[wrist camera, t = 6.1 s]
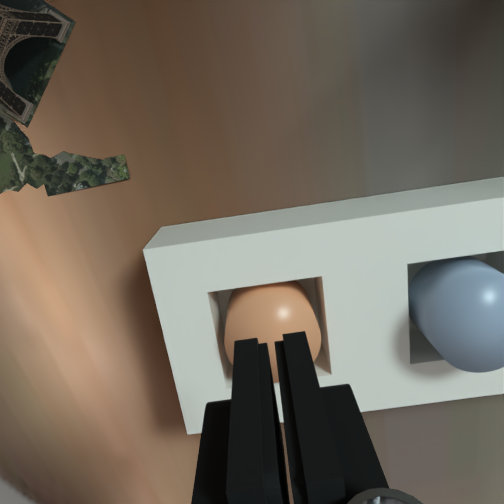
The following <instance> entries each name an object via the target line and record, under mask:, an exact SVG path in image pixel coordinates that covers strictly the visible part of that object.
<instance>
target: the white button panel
mask: <svg viewBox="0 0 504 504" xmlns="http://www.w3.org/2000/svg"><path fill="white" fill-rule="evenodd" d="M143 252H144V257H145V261H146V265H147V269H148V273H149V277H150V281H151V286H152V290H153V294H154V298H155V302H156V306H157V310H158V314H159V319H160V323H161V327H162V331H163V335H164V339H165V343H166V348H167V352H168V356H169V360H170V364H171V368H172V372H173V376H174V381H175V385H176V389H177V393H178V397H179V401H180V405H181V410H182V414H183V418H184V422H185V426H186V430H187V434H195V433H202V426H203V419H204V412H205V407H206V404H207V402H213V401H220V400H228V399H231V391H232V374H233V365H232V364H231V362H230V360H229V359H228V356H227V354H226V350H225V344H224V337H225V327H226V318H227V308H228V302H229V299H230V296H231V294H232V292H233V290H234V289H235V288H241V287H248V286H255V285H262V284H269V283H276V282H284V281H291V280H296V281H298V282H299V283H300V284H301V285H302V286H303V288H304V289H305V291H306V293H307V295H308V297H309V300H310V303H311V306H312V308H313V311H314V314H315V317H316V320H317V322H318V325H319V328H320V332H321V346H320V350H319V353H318V356H317V358H316V359H315V361H314V362H313V363H314V366H315V370H316V374H317V378H318V382H319V385H320V387H326V386H334V385H341V384H349V385H350V386H351V388H352V391H353V393H354V396H355V399H356V401H357V404H358V407H359V409H360V412H364V411H372V410H380V409H387V408H395V407H403V406H411V405H418V404H426V403H434V402H441V401H449V400H457V399H464V398H472V397H480V396H488V395H495V394H503V393H504V367H503V368H500V369H498V370H494V371H490V372H483V373H473V372H466V371H463V370H460V369H457V368H455V367H454V366H452V365H450V364H449V363H448V362H447V361H446V360H445V359H444V358H443V357H442V356H441V355H440V353H439V352H438V351H437V350H436V349H435V348H434V346H433V345H432V344H431V343H430V342H429V340H428V339H427V338H426V337H425V336H424V334H423V333H422V332H421V331H420V330H419V328H418V327H417V326H416V325H415V324H414V322H413V321H412V320H411V318H410V316H409V308H408V288H409V285H410V283H411V281H412V279H413V278H414V276H415V275H416V274H417V273H418V271H419V270H420V269H421V268H422V267H424V266H425V265H426V264H428V263H429V262H431V261H432V260H439V259H446V258H454V257H461V256H468V255H470V256H473V257H475V258H477V259H479V260H481V261H483V262H484V263H486V264H488V265H489V266H491V267H493V268H494V269H496V270H498V271H500V272H501V273H503V274H504V177H498V178H491V179H484V180H477V181H471V182H464V183H457V184H450V185H443V186H437V187H430V188H423V189H416V190H409V191H403V192H396V193H389V194H382V195H375V196H369V197H362V198H355V199H348V200H341V201H335V202H328V203H321V204H314V205H307V206H301V207H294V208H287V209H280V210H273V211H267V212H260V213H253V214H246V215H239V216H233V217H226V218H219V219H212V220H205V221H199V222H192V223H185V224H178V225H171V226H164V227H161V228H160V229H159V231H158V232H157V233H156V234H155V235H154V237H153V238H152V239H151V240H150V241H149V243H148V244H147V245H146V246H145V248H144V249H143ZM274 388H275V394H276V400H277V407H278V413H279V419H280V422H284V421H283V412H282V403H281V395H280V386H279V383H274Z"/></svg>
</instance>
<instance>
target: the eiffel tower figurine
mask: <svg viewBox="0 0 504 504" xmlns="http://www.w3.org/2000/svg"><path fill="white" fill-rule="evenodd" d="M75 23H76V22H75V21H73V20H72V19H70V18H69V17H67V16H66V15H64V14H63V13H61V12H60V11H58V10H57V9H55V8H54V7H52V6H51V5H49V4H48V3H46V2H45V1H43V0H0V194H1V193H3V192H5V191H7V190H11V191H18V192H19V191H20V190H21V188H22V187H23V186H24V185H25V184H26V183H28V184H30V185H31V186H33V187H35V188H36V189H37V188H39V187H40V186H42V185H43V184H44V185H45V189H46V192H47V195H48V196H52V195H57V194H61V193H66V192H70V191H75V190H79V189H84V188H88V187H93V186H97V185H102V184H106V183H111V182H115V181H120V180H125V179H130V178H129V173H128V168H127V164H126V159H125V155H119V156H114V157H109V158H105V159H104V160H101V159H96V158H91V157H85V156H81V155H76V154H71V153H67V152H65V151H63V152H61V153H59V154H58V155H56V156H54V157H52V158H49V157H47V156H45V155H41V154H34V152H33V150H32V147H31V144H30V142H29V139H28V137H27V136H26V135H25V134H24V133H23V132H22V131H21V130H20V128H19V127H18V126H17V125H16V123H15V122H14V121H13V120H12V118H13V119H15V120H16V121H18V122H20V123H21V124H23V125H25V126H26V127H28V126H29V124H30V122H31V119H32V117H33V115H34V113H35V111H36V108H37V106H38V104H39V102H40V100H41V97H42V95H43V93H44V91H45V89H46V86H47V84H48V82H49V80H50V78H51V75H52V73H53V71H54V69H55V67H56V64H57V62H58V60H59V58H60V56H61V53H62V51H63V49H64V47H65V45H66V42H67V40H68V38H69V36H70V34H71V31H72V29H73V27H74V25H75Z"/></svg>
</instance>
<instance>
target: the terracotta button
mask: <svg viewBox="0 0 504 504" xmlns="http://www.w3.org/2000/svg"><path fill="white" fill-rule="evenodd" d="M301 331H305V332H306V336H307V340H308V344H309V347H310V351H311V355H312V359H313V362H314V361H315V359H316V358H317V356H318V353H319V350H320V346H321V332H320V328H319V325H318V322H317V320H316V317H315V314H314V311H313V308H312V306H311V303H310V300H309V297H308V295H307V293H306V291H305V289H304V288H303V286H302V285H301V284H300V283H299V282H298V281H296V280H291V281H284V282H276V283H269V284H262V285H255V286H248V287H241V288H235V289H234V290H233V292H232V294H231V296H230V299H229V302H228V308H227V318H226V327H225V337H224V344H225V350H226V354H227V356H228V359H229V360H230V362H231V364H232V365H233V356H234V341H236V340H243V339H251V338H258V342H259V344H260V343H267V345H268V350H269V357H270V363H271V369H272V375H273V382H274V383H279V378H278V369H277V361H276V352H275V344H274V341H281V340H283V335H282V334H287V333H294V332H301Z"/></svg>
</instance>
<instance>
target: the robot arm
mask: <svg viewBox="0 0 504 504" xmlns="http://www.w3.org/2000/svg"><path fill="white" fill-rule="evenodd" d="M282 335H283V340H281V341H274V344H275V352H276V361H277V369H278V378H279V386H280V395H281V403H282V412H283V421H284V429H285V438H286V446H287V455H288V463H289V471H290V479H291V486H292V493H293V500H294V504H423V503H422V502H420V501H419V500H417V499H416V498H415V497H413V496H411V495H409V494H407V493H404V492H402V491H399V490H395V489H389V486H388V484H387V481H386V478H385V476H384V473H383V470H382V468H381V465H380V462H379V460H378V457H377V454H376V452H375V449H374V447H373V444H372V441H371V439H370V436H369V433H368V431H367V428H366V425H365V423H364V420H363V417H362V415H361V412H360V409H359V407H358V404H357V401H356V399H355V396H354V393H353V391H352V388H351V386H350V385H349V384H341V385H334V386H326V387H320V385H319V382H318V378H317V374H316V370H315V366H314V363H313V359H312V355H311V351H310V347H309V344H308V340H307V336H306V332H305V331H301V332H294V333H287V334H282ZM191 504H290V502H289V493H288V483H287V474H286V465H285V456H284V446H283V439H282V432H281V425H280V419H279V413H278V407H277V400H276V394H275V388H274V382H273V375H272V369H271V363H270V357H269V350H268V345H267V343H260V344H259V342H258V338H251V339H243V340H236V341H234V356H233V374H232V391H231V399H228V400H220V401H213V402H207V404H206V407H205V412H204V419H203V426H202V433H201V440H200V447H199V454H198V461H197V468H196V475H195V482H194V489H193V496H192V503H191Z"/></svg>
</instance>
